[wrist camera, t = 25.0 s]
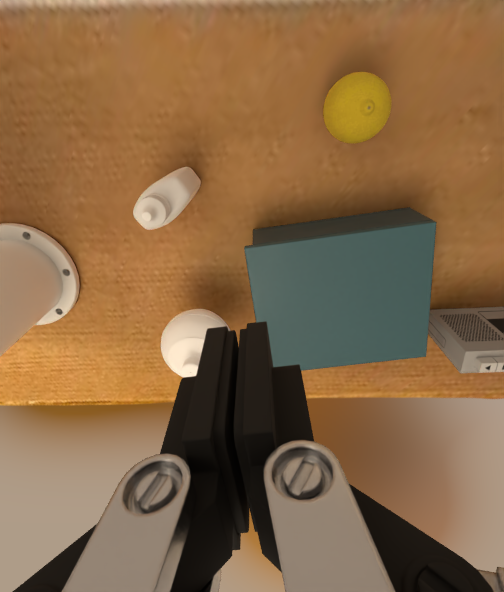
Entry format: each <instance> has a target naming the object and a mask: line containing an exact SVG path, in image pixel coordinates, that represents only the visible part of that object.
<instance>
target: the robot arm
mask: <svg viewBox="0 0 504 592" xmlns="http://www.w3.org/2000/svg"><path fill="white" fill-rule="evenodd" d="M79 288H80V283H79V275H78V272H77V269H76V266H75V265H74V263H73V261H72V259H71V257H70V256H69V255H68V253H67V252H66V251H65V249H64V248H63V247H62V246H61V245H60V244H59V243H58V242H57V241H55V240H54V239H53V238H51V237H50V236H48V235H47V234H46V233H44V232H42V231H40V230H38V229H36V228H33V227H30V226H26V225H23V224H16V223H4V224H0V356H2V355H3V354H4V353H5V352H6V351H7V350H8V349H9V348H10V347H11V346H12V345H13V344H15V343H16V342H17V341H18V340H19V339H20V338H21V337H22V336H23V335H24V334H25V333H26V332H28V331H29V330H30V329H31V328H32V327H33V326H34V325H44V324H49V323H52V322H55V321H57V320H59V319H61V318H62V317H63V316H65V315H66V314H67V313H68V312H69V311H70V310H71V309H72V307H73V306H74V304H75V303H76V301H77V298H78V295H79ZM249 508H250V512H251V516H252V520H253V525H254V529H255V532H258V536H259V541H260V545H261V549H262V554H263V555H264V556H265V557H266V558H268V560H270V561H271V562H272V563H273V564H274V565H275V566H276V567H277V568H278V569H279V570H280V571H281V572H282V576H283V581H284V585H285V591H286V592H504V568H501V567H497V570H496V573H494V572H489V571H482V570H477V569H476V568H474V567H473V566H472V565H471V564H469V563H468V562H467V561H466V560H465V559H463V558H462V557H460V556H459V555H457V554H456V553H454V552H453V551H451V550H450V549H448V548H447V547H445V546H443V545H442V544H440V543H439V542H437V541H436V540H434V539H433V538H431V537H430V536H428V535H426V534H425V533H423V532H422V531H420V530H419V529H417V528H416V527H414V526H413V525H411V524H410V523H408V522H407V521H405V520H404V519H402V518H401V517H399V516H398V515H396V514H395V513H393V512H391V511H390V510H388V509H386V508H385V507H384V506H382V505H381V504H379V503H377V502H376V501H375V500H373V499H372V498H370V497H369V496H367V495H365V494H364V493H362V492H361V491H359V490H358V489H356V488H355V487H353V486H352V485H350V484H349V483H348V481H347V479H346V477H345V474H344V472H343V470H342V467H341V465H340V463H339V461H338V460H337V458H336V456H335V455H334V453H333V452H331V451H330V450H329V449H328V448H326V447H325V446H323V445H321V444H319V443H316V442H314V439H313V433H312V429H311V423H310V417H309V412H308V406H307V401H306V396H305V390H304V385H303V379H302V374H301V369H300V364H297V365H288V366H280V367H273V361H272V354H271V347H270V340H269V334H268V327H267V322H266V321H265V322H256V323H248V324H247V329H241V330H240V340H239V347H238V342H237V336H236V332H235V330H233V331H229V330H228V327H227V326H224V327H216V328H208V329H207V331H206V335H205V340H204V344H203V348H202V353H201V357H200V361H199V366H198V370H197V374H196V376H192V377H184V378H183V379H182V380H181V382H180V386H179V389H178V393H177V396H176V400H175V403H174V407H173V410H172V414H171V417H170V421H169V424H168V428H167V431H166V435H165V438H164V442H163V445H162V449H161V452H160V454H158V455H154V456H151V457H149V458H146V459H144V460H142V461H141V462H139V463H137V464H136V465H134V466H133V467H132V468H131V469H130V470H129V471H128V472H127V473H126V474H125V475H124V477H123V478H122V480H121V481H120V483H119V484H118V486H117V488H116V490H115V492H114V494H113V496H112V498H111V499H110V501H109V503H108V505H107V507H106V509H105V511H104V513H103V514H102V516H101V518H100V520H99V522H98V524H97V525H95V526H94V527H93V528H91V529H90V530H89V531H88V532H86V533H85V534H84V535H83V536H81V537H80V538H79V539H78V540H76V541H75V542H74V543H73V544H71V545H70V546H69V547H68V548H66V549H65V550H64V551H63V552H61V553H60V554H59V555H58V556H57V557H55V558H54V559H53V560H52V561H50V562H49V563H48V564H47V565H45V566H44V567H43V568H42V569H40V570H39V571H38V572H37V573H35V574H34V575H33V576H32V577H30V578H29V579H28V580H27V581H25V582H24V583H23V584H22V585H20V587H18V588H17V589H16V590H14V591H13V592H219V587H220V581H221V568H222V566H223V565H224V564H225V563H226V562H227V561H228V560H229V559H230V558H231V556H232V550H240V536H241V533H247V532H248V531H249Z"/></svg>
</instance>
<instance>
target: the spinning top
mask: <svg viewBox="0 0 504 592" xmlns="http://www.w3.org/2000/svg"><path fill="white" fill-rule="evenodd" d="M224 326H227V327H228V325H227V324H226V322H225V321H224V320H223V319H222V318H221V317H220V316H218V315H217V314H215V313H214V312H212V311H209V310H206V309H192V310H188V311H185V312H182V313H180V314H178V315H177V316H175V317H174V318H173V319H172V320H171V321H170V322H169V323H168V325H167V326H166V327H165V329H164V331H163V334H162V338H161V352H162V355H163V358H164V360H165V362H166V363H167V365H168V366H169V367H170V368H171V369H172V370H173V371H174V372H175V373H177V374H178V375H180V376H182V377H192V376H196V374H197V370H198V366H199V361H200V357H201V353H202V348H203V344H204V340H205V335H206V331H207V329H208V328H216V327H224ZM228 330H229V331H230V329H229V327H228Z"/></svg>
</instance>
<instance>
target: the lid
mask: <svg viewBox="0 0 504 592" xmlns="http://www.w3.org/2000/svg"><path fill="white" fill-rule="evenodd" d="M435 233H436V222H435V221H433V220H430V221H423V222H416V223H409V224H401V225H394V226H387V227H380V228H372V229H365V230H358V231H351V232H344V233H336V234H329V235H322V236H315V237H307V238H300V239H293V240H286V241H278V242H271V243H264V244H257V245H249V246H245V248H244V250H245V256H246V262H247V268H248V274H249V280H250V287H251V293H252V299H253V305H254V311H255V317H256V322H265V321H266V322H267V327H268V334H269V340H270V347H271V354H272V361H273V367H280V366H288V365H297V364H300V369H301V370H310V369H319V368H328V367H337V366H346V365H355V364H363V363H372V362H381V361H390V360H399V359H408V358H417V357H426V351H427V338H428V324H429V311H430V298H431V285H432V272H433V259H434V246H435Z"/></svg>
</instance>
